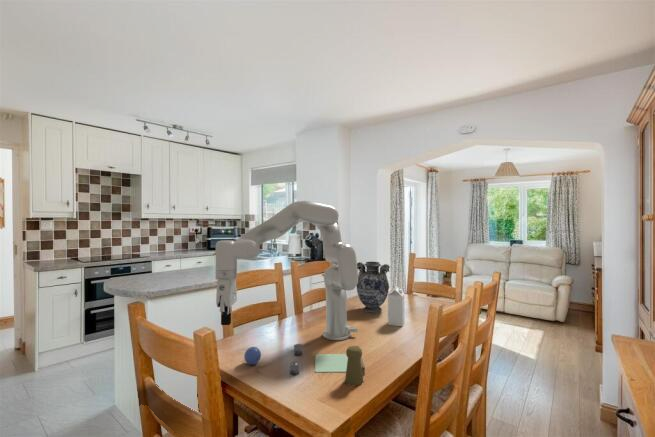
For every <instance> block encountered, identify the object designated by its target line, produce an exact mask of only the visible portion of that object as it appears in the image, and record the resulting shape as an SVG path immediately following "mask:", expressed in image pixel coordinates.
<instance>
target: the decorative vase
mask: <svg viewBox="0 0 655 437" xmlns="http://www.w3.org/2000/svg"><path fill="white" fill-rule="evenodd" d="M390 268H391V267H390V265H389V264H387V263H384V264H381V262H379V261H366V263H363V262H357V269H358V271H359V272H358V283H357V286H356V293H357V296H358V298H359V300H360V302H361V303H362V305H364V307H363V311H364V312H366V311H367V312H366V313H371V312H372V314H373V313H374V314H376V313H375V312H378V313H380V312H382V311H383V309H382V308H381V307H380V306H382V305H383V304H384V303H385V301H386V300H387V298H388V295H389V290H390V283H389V280H388V276H387V273H390Z"/></svg>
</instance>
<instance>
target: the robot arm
mask: <svg viewBox="0 0 655 437" xmlns="http://www.w3.org/2000/svg"><path fill="white" fill-rule="evenodd" d="M338 220H339V212H338V209H336V207H334V206H332V205H328V204H323V203H318V202H314V201H310V200H299V201H298V200H297V201H294V202H291V203H290V204H288V205H287V206H285V207H284V208H283V209H281V210H280V211H278V212H277V213H275V214H274V215H273V216H271V217H270V218H269V219H266V220H265V221H262V222H261V223H260V224H258V225H256V226H255V227H252V228H251V229H250V230H248V231H247V232H245V233H244V234H242V235H241V236H239V237H238V238H237V239H236V240H228V239H227V240H226V239H225V240H218V241H217V242H216V243H215V280H217V282H216V297H215V299H216V300H215V302H216V307H217V308H219V312H220V325H221V326H230V325H231V324H232V306H233V305H234V304H236V303H237V301H238V293H237V292H238V289H237V278H238V260H245V261H246V260H247V261H249V260H251V261H252V260H253V259H256V258H257V257H258V256H259V255H260V252H261V248H260V245H262V244H263V243H265V242H268V241H272V240H275V239H279V238H280V237H283V236H284V235H285V234H286V233H287V232H289V231H291V229H293V228H294V227H296V226H297V225H298V224H299V223H301V222H303V223H305V222H306V223H310V224H311V225H313V226H316V228H317V229H318V230H319V232H320V234H321V238H322V245H323V255H324V256H323V257H324V259H325V261H326V262H327V263H330V264H332V265H330V266H329V267H327V268H326V269H325V271H324V274H323V282H324V288H325V329H324V330H323V332H322V337H323V338H324V339H327V340H329V341H330V340H331V341H343V340H348V339H349V338H350V337H351V333H358V327H355V326H350V325H348V305H347V304H348V300H347V299H348V296H347V291H352V290H354V289H356V288H357V283H358V274H359V272H358V271H359V269H357V263H358V262H357V261H358V260H357V254H356V251H355V249H354V247H353V246H352V245H350V244H348V243H344V242H343V240H342V235H341V230H340V227H339V225H338ZM333 264H334V265H333Z"/></svg>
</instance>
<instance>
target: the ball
mask: <svg viewBox="0 0 655 437" xmlns="http://www.w3.org/2000/svg"><path fill="white" fill-rule="evenodd" d="M243 357H244V361H245V363H247V364H248V365H251V366H252V365H257V363H259V361H260V360H261V357H262V352H261V350H260V349H259V348H258V347H257V346H251V347H248V348H247V349H246V350H245V352H244V354H243Z"/></svg>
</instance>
